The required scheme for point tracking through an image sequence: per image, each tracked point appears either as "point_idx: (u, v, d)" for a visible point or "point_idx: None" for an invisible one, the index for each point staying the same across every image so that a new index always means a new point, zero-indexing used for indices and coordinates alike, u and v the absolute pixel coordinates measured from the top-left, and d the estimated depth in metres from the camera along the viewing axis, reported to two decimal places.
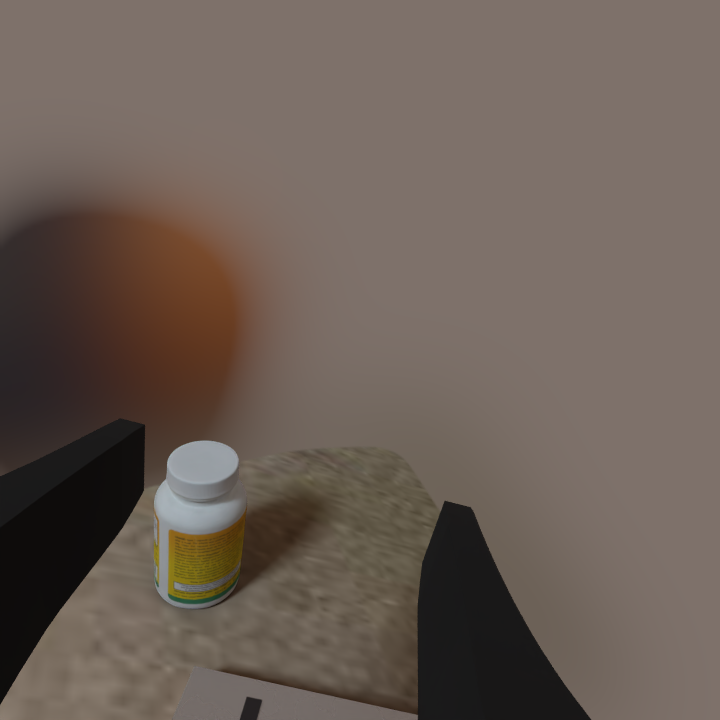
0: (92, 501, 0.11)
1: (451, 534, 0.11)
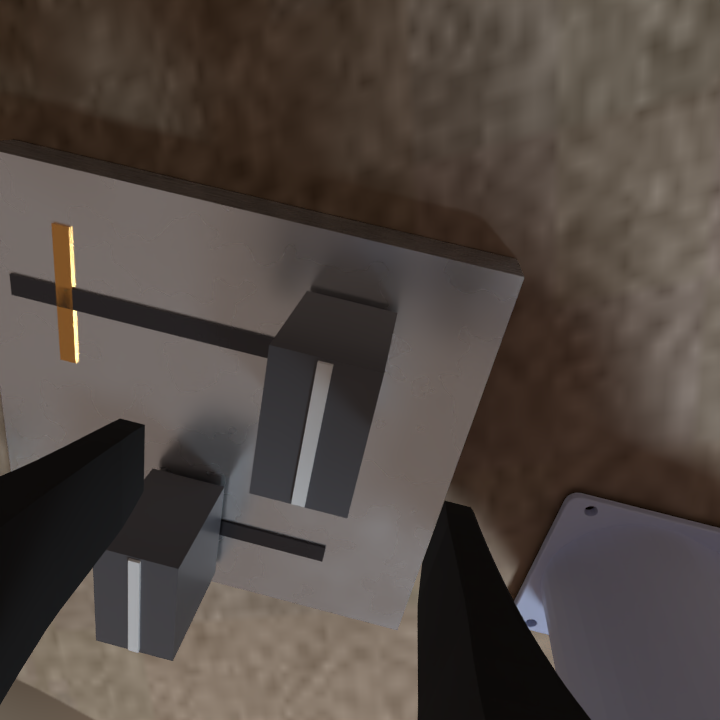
0: (92, 501, 0.11)
1: (451, 534, 0.11)
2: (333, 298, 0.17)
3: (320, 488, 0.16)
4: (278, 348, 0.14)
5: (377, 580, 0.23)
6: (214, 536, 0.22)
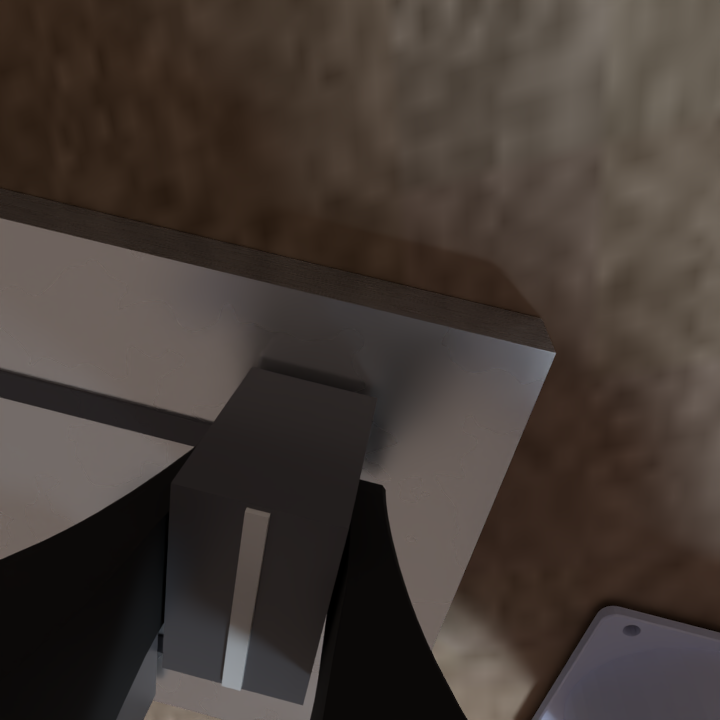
0: None
1: None
2: (288, 378, 0.12)
3: (262, 668, 0.11)
4: (184, 489, 0.09)
5: None
6: (148, 661, 0.17)
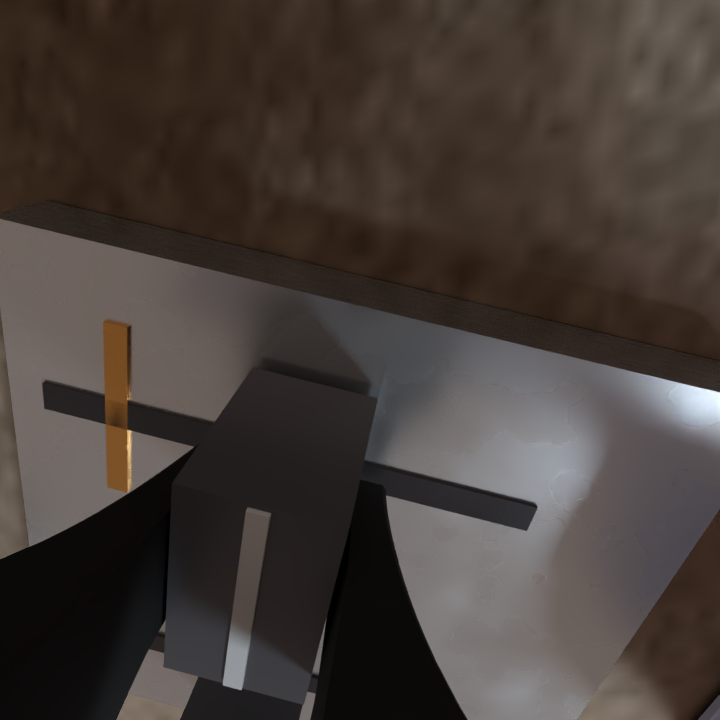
0: None
1: None
2: (289, 378, 0.12)
3: (263, 667, 0.11)
4: (185, 489, 0.09)
5: None
6: None
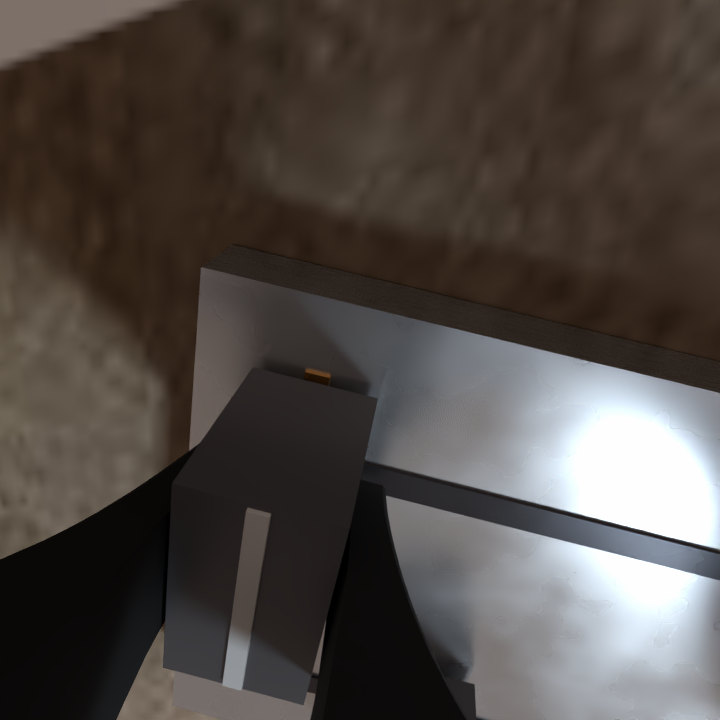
0: None
1: None
2: (289, 378, 0.12)
3: (263, 668, 0.11)
4: (185, 489, 0.09)
5: None
6: None
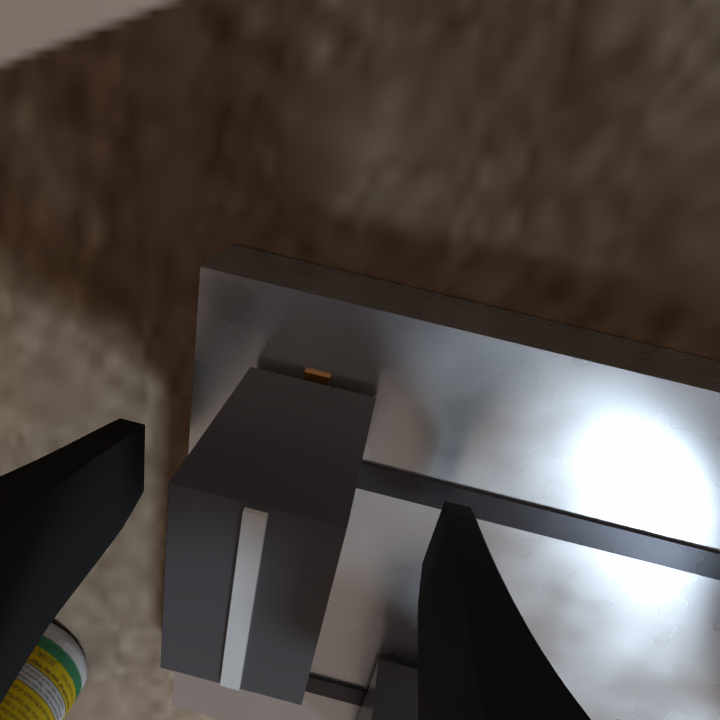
0: (92, 501, 0.11)
1: (451, 534, 0.11)
2: (286, 378, 0.12)
3: (260, 668, 0.11)
4: (182, 488, 0.09)
5: None
6: None
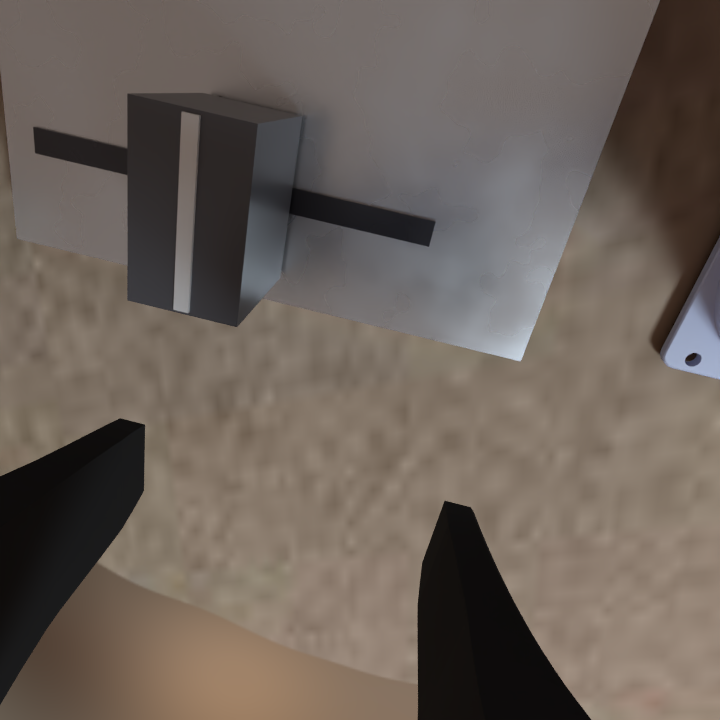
0: (92, 501, 0.11)
1: (451, 534, 0.11)
2: None
3: None
4: None
5: (501, 276, 0.17)
6: (286, 194, 0.16)
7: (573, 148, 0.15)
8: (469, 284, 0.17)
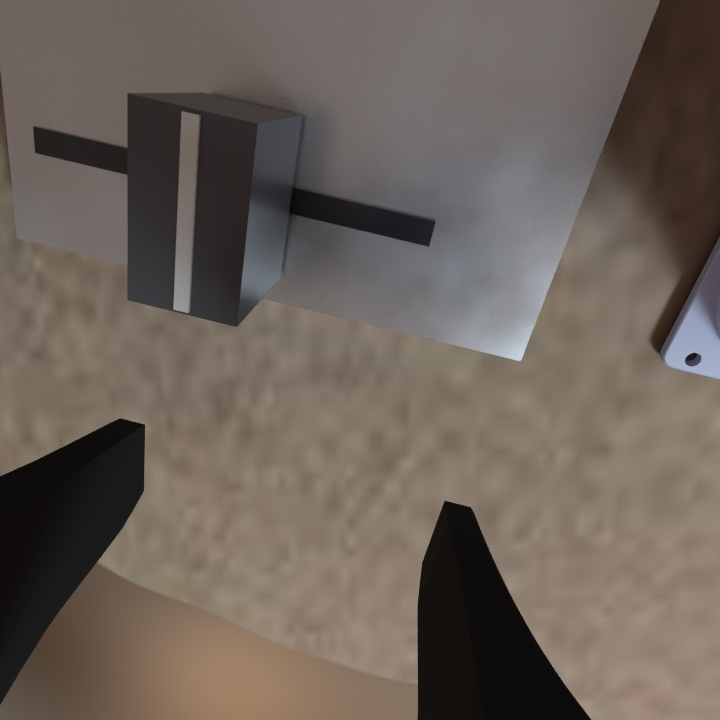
0: (92, 501, 0.11)
1: (451, 534, 0.11)
2: None
3: None
4: None
5: (501, 276, 0.17)
6: (286, 194, 0.16)
7: (573, 148, 0.15)
8: (469, 284, 0.17)
